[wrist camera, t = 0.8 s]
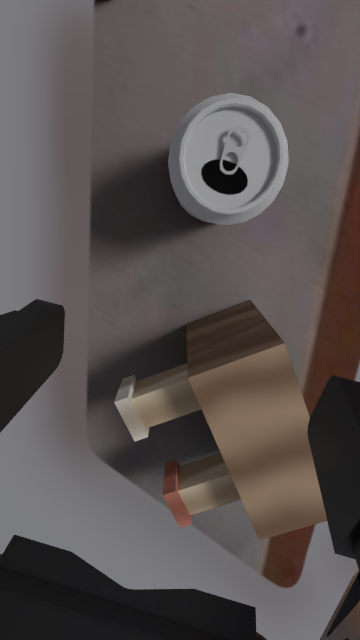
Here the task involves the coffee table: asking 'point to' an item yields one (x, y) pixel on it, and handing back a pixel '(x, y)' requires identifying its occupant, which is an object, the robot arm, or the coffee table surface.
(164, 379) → the key cream
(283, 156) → the can
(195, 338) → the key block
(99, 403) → the coffee table surface
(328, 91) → the coffee table surface
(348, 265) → the coffee table surface
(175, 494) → the key red
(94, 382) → the coffee table surface
